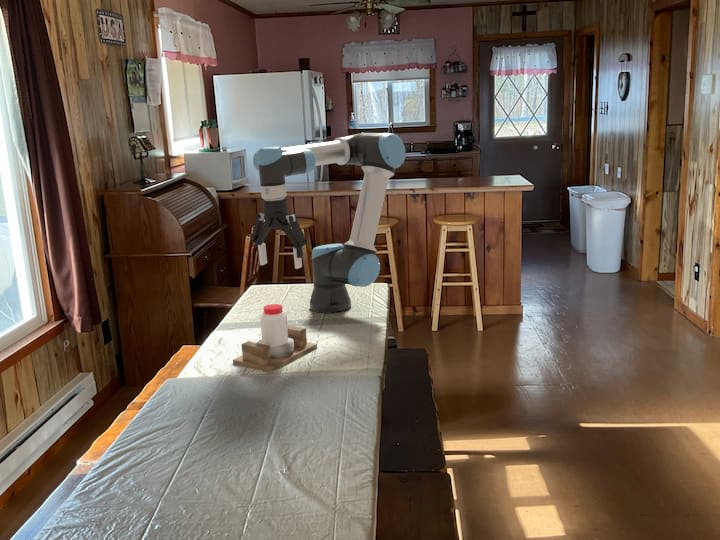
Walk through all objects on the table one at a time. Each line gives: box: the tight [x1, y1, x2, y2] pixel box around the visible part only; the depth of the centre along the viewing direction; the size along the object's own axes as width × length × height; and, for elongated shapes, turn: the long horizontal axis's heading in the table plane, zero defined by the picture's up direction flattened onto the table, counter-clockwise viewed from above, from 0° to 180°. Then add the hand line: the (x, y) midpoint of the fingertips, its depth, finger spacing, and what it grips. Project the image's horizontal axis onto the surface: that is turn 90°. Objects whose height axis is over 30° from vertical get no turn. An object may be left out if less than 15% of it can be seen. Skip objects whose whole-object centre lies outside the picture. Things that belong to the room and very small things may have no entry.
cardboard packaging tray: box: [232, 324, 318, 373], centre depth 202 cm, size 22×14×6 cm, turn 147°
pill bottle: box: [259, 303, 288, 347], centre depth 200 cm, size 8×8×11 cm
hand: (280, 266), depth 212 cm, fingers open, 13 cm apart
